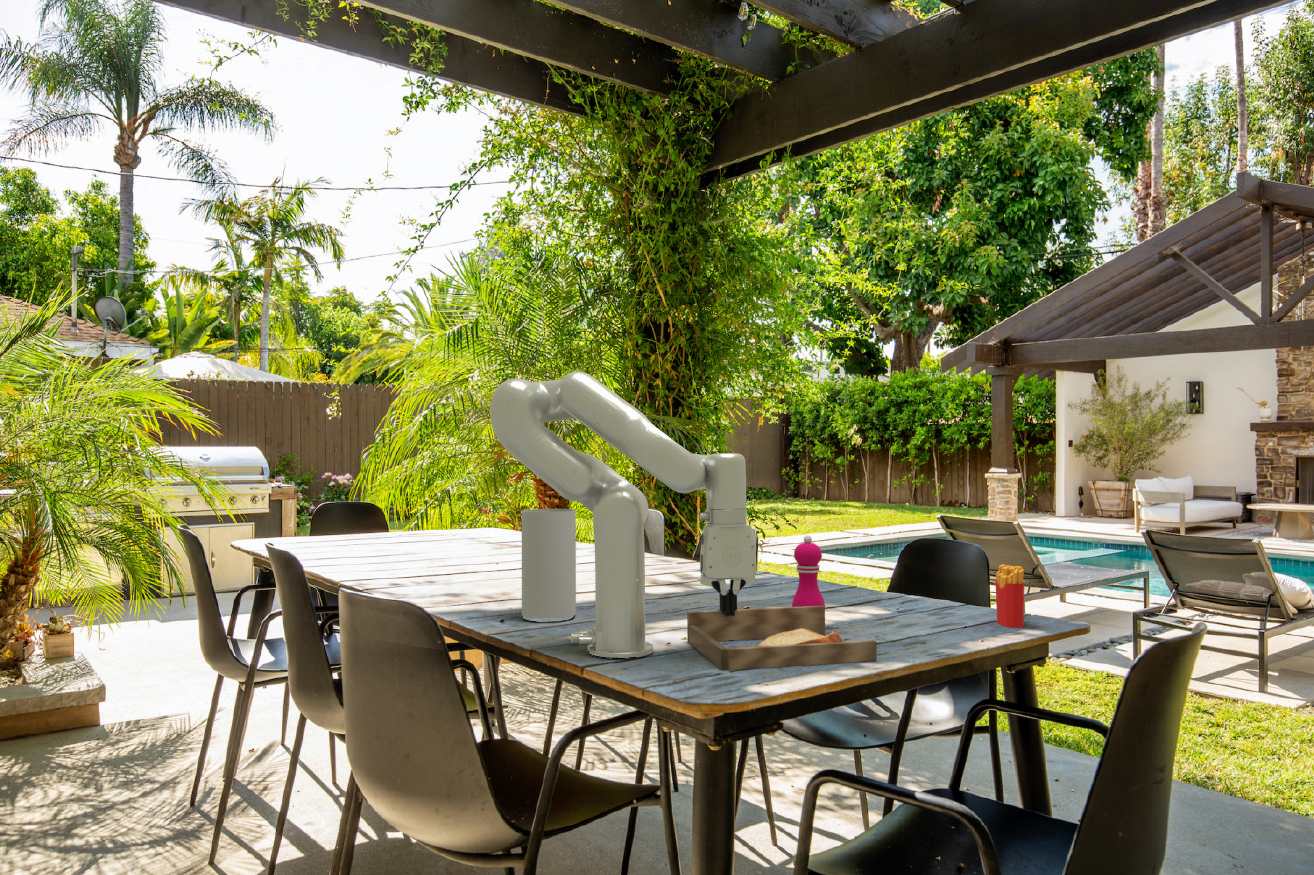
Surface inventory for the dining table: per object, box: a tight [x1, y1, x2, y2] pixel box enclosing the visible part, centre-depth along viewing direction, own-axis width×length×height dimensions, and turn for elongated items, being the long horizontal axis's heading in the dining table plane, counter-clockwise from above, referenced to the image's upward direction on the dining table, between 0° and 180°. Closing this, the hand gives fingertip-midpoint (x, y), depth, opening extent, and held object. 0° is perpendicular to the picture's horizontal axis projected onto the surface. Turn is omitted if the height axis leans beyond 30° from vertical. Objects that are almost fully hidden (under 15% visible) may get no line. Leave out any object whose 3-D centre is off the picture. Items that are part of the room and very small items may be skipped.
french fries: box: [994, 563, 1025, 629], centre depth 192 cm, size 9×4×13 cm, turn 2°
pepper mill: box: [791, 535, 826, 607], centre depth 190 cm, size 7×7×20 cm
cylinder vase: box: [521, 508, 577, 619], centre depth 203 cm, size 12×12×25 cm
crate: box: [686, 605, 878, 671], centre depth 167 cm, size 29×24×6 cm
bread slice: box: [756, 628, 843, 647], centre depth 168 cm, size 18×18×4 cm
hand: (728, 614), depth 165 cm, fingers closed
